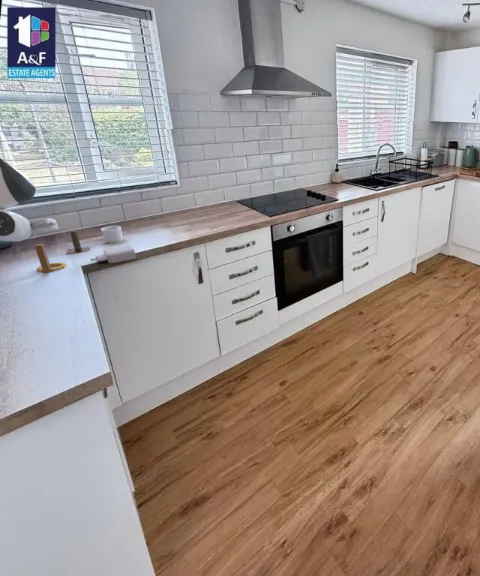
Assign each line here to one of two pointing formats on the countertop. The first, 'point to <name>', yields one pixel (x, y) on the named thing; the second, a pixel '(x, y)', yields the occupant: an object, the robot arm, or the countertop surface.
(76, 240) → the stand
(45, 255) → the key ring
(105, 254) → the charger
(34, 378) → the countertop surface
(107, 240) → the cup
